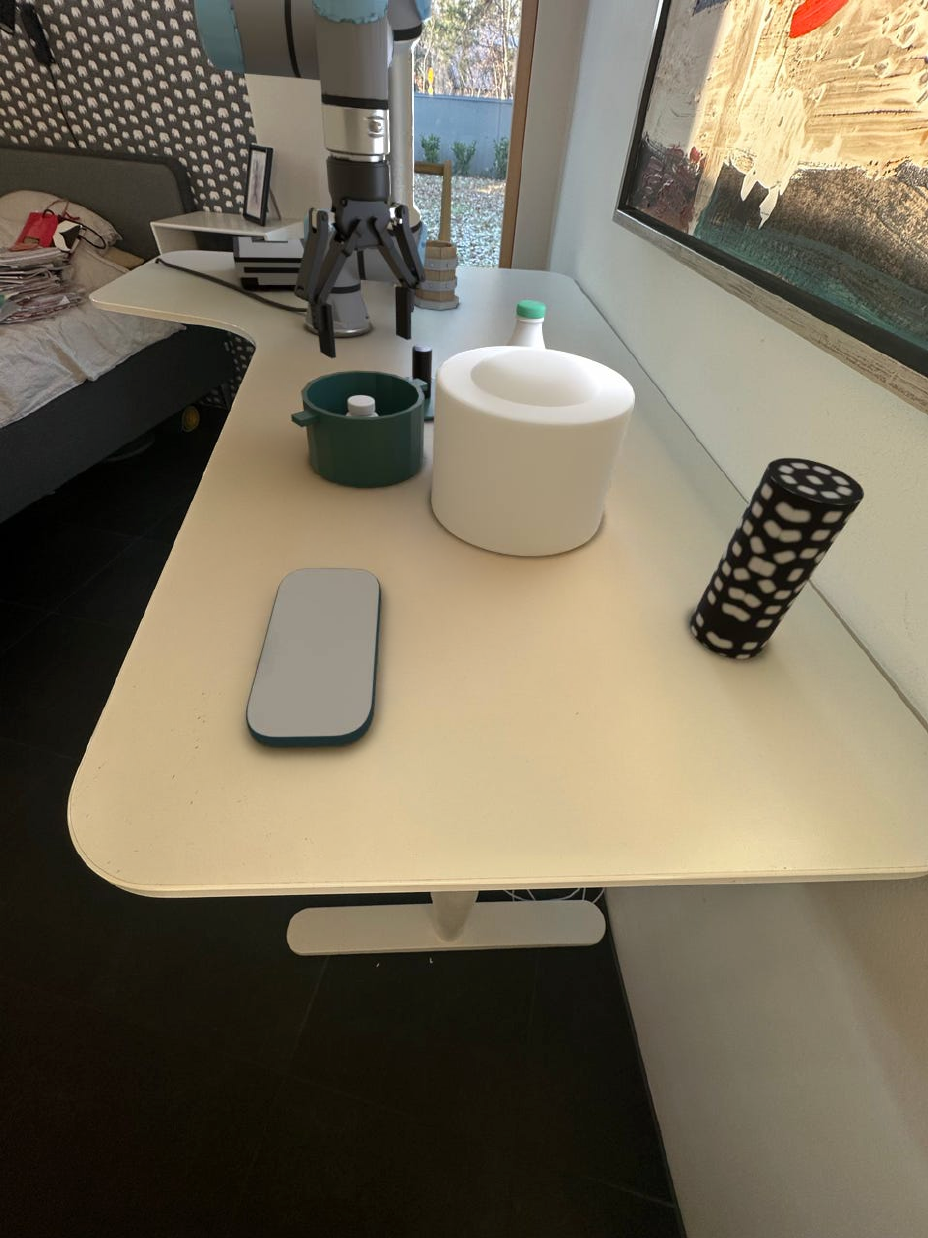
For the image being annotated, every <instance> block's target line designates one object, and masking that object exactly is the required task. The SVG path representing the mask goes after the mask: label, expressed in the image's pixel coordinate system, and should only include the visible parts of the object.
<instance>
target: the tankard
mask: <svg viewBox="0 0 928 1238" xmlns="http://www.w3.org/2000/svg"><path fill="white" fill-rule="evenodd" d="M457 248H458V245H457V244H455V243H453V242H451V241H450V242H447V241H439V240H438V239H434V240H433V239H427V240H426V249H425V258H424V265H423V268H424V271H425V274H426V280H425V282H420V288H419V290H417V291H416V290H414V306H416V307H418V308H421V309H424V310H425V309H426V310H427V309H428V310H435V311H445V310H446V311H447V310H453V309H454V310H455V309H456V307H457V306H458V304H459V303H460V297H459V296H458V295H455V294H456V293H455V291H456V288H457V287H458V276H456V273H457V272H456V270H457V267H458V266H459V258H460V257H459V255H458V254H457V251H458V249H457ZM395 285H396V286H400V287H402V285H401V284H400V283H395Z"/></svg>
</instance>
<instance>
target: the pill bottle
mask: <svg viewBox="0 0 928 1238" xmlns="http://www.w3.org/2000/svg"><path fill="white" fill-rule="evenodd" d="M348 410H349V412H348V413H347V414H346V416H351V417H376V416H378V415H377V414H376V413H375V412H374V411H375V401H374V399H373V398H372V397H369V396H364V395H357V396H352V397H350V398H349V399H348Z"/></svg>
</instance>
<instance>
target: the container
mask: <svg viewBox="0 0 928 1238" xmlns="http://www.w3.org/2000/svg"><path fill="white" fill-rule="evenodd" d="M635 403H636V394H635V391H634V388H633V386H632V385H631V383H630V382H629V381H628V380H627V379H625V378H624V377H623V376H622V374H620V373H618V372H617V371H615V370H613V369H611V368H610V367H608V366H606V365H604V364H602V363H600V362H597V361H594V360H592V359H589V358H586V357H583V356H579V355H576V354H573V353H569V352H564V351H560V350H556V349H555V350H554V349H549V348H545V349H542V348H534V347H520V346H506V345H504V346H503V345H500V346H488V347H481V348H480V347H479V348H474V349H470V350H466V351H462V352H459V353H457V354H455V355H452V356H450V357H449V358H447V359H445V360H444V361H443V362H442V363H441V364H440V365H439V366H438V369H437V370H436V373H435V406H434V419H433V438H432V439H433V440H432V441H433V443H432V468H431V469H432V471H431V502H430V503H431V508H432V512H433V513H434V515H435V517H436V519H437V520H438V521H439V523H440V525H442V526H443V527H444V528H445V529H446V530H447V531H448V532H450V533H451V534H452V535H454V536H455V537H457V538H459V540H460V539H461V540H462V541H464V542H465V543H468V544H470V545H472V546H475V547H477V548H481V549H483V550H486V551H489V552H494V553H498V554H503V555H508V556H519V557H542V556H543V557H545V556H552V555H557V554H562V553H565V552H569V551H573V550H574V549H577V548H578V547H581V546H582V545H584V544H586V543H587V542H589V541H590V540H591V539H592V538H593V537H594V535H595V534H596V533H597V531H598V529H599V528H600V525H601V521H602V518H603V515H604V511H605V507H606V504H607V501H608V498H609V493H610V490H611V487H612V484H613V480H614V476H615V473H616V469H617V466H618V462H619V458H620V456H621V452H622V449H623V445H624V442H625V439H626V435H627V432H628V428H629V425H630V422H631V417H632V415H633V410H634V407H635Z"/></svg>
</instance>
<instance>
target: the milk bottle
mask: <svg viewBox="0 0 928 1238" xmlns="http://www.w3.org/2000/svg"><path fill="white" fill-rule="evenodd" d="M515 310H516V312H515V319H516V323H515V326H514V328H513V331H512V333H511V334H510V337H509V339H508V340H507V342H506V344H505V346H520V347H534V348H542V349H546V346H545V345H546V344H545V341H544V336H543V322H544V321H545V315H546V310H547V306H546V304H544V303H543V302H540V301H537V300H529V299H528V300H520V301H518V302H517V304H516V309H515Z"/></svg>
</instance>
